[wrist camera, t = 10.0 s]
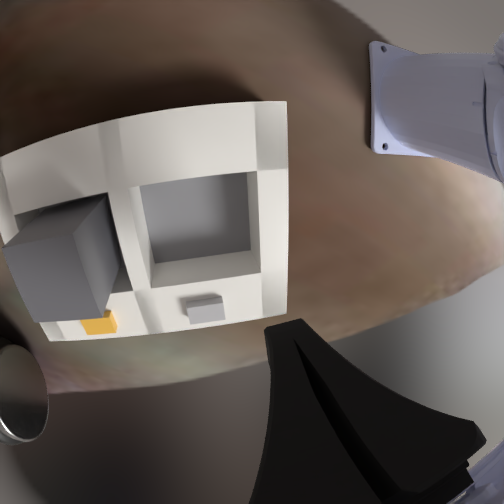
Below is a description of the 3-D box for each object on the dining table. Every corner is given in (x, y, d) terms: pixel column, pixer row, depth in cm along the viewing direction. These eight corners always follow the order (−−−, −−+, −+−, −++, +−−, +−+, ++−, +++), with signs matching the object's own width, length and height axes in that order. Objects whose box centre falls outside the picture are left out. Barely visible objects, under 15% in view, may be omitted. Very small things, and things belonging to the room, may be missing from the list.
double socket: (266, 103, 14) (290, 100, 11) (271, 282, 20) (289, 319, 17) (14, 153, 12) (-23, 167, 8) (63, 309, 18) (47, 347, 14)
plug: (110, 190, 14) (72, 233, 9) (124, 253, 16) (102, 318, 11) (52, 203, 13) (1, 248, 8) (69, 261, 15) (34, 322, 10)
